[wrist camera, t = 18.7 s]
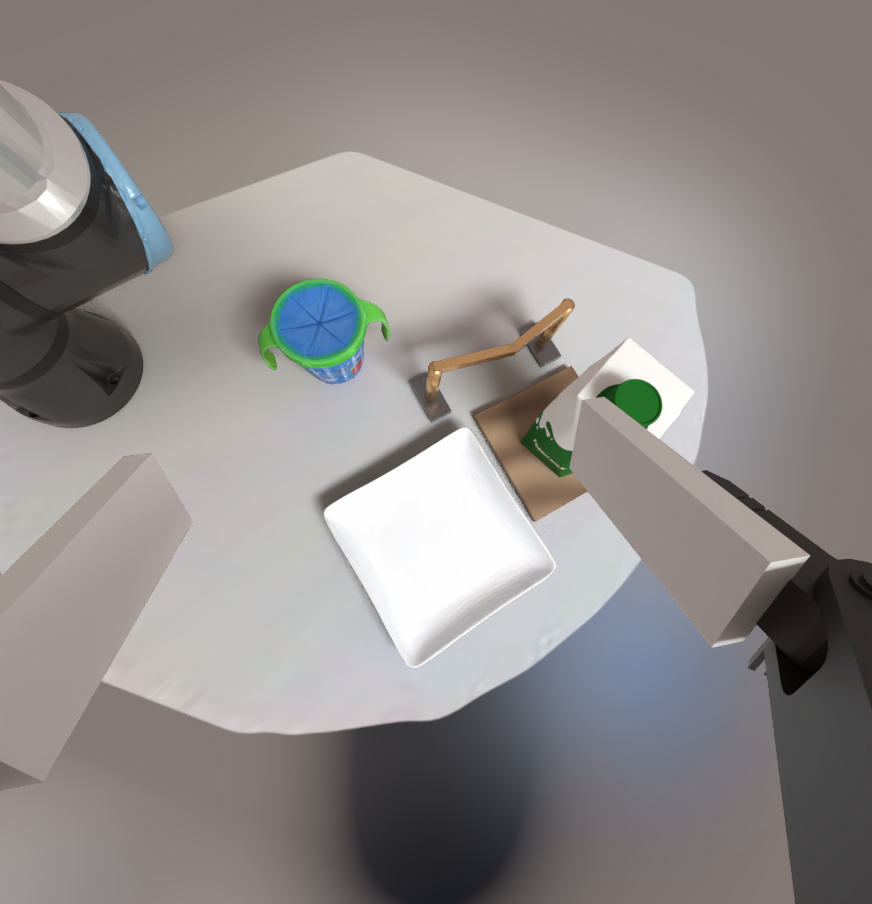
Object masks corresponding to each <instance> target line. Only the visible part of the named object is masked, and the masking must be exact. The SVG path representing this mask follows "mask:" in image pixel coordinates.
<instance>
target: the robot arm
mask: <svg viewBox="0 0 872 904" xmlns="http://www.w3.org/2000/svg"><path fill="white" fill-rule="evenodd" d="M172 253H173V244H172V241H171V239H170V237H169V235H168V233H167V231H166V230H165V228H164V226H163V225H162V223H161V221H160V220H159V218H158V217H157V215H156V214H155V212H154V211H153V209H152V208H151V206H150V205H149V203H148V202H147V201H146V200H145V199H144V197H143V194H142V193H141V192H140V190H139V189H138V187H137V185H136V183H135V182H134V180H133V179H132V177H131V176H130V175H129V173H128V172H127V170H126V169H125V167H124V166H123V164H122V163H121V162H120V160H119V159H118V157H117V156H116V154H115V153H114V152H113V150H112V149H111V148H110V146H109V145H108V143H107V142H106V141H105V139H104V138H103V137H102V135H101V134H100V133H99V131H98V130H97V129H96V127H95V126H94V125H93V124H92V122H91V121H89V120H88V119H87V118H86V117H85V116H84V115H81V114H78V113H71V114H67V113H63V112H61V113H59V114H57V113H56V112H55V111H54V110H53V109H52V108H51V107H49V106H48V105H47V104H46V103H45V102H43V101H42V100H41V99H39V98H38V97H36V96H34V95H33V94H31V93H29V92H27V91H26V90H24V89H22V88H20V87H17V86H15V85H12V84H10V83H8V82H5V81H1V80H0V400H1V401H3V402H4V403H6V404H7V405H9V406H10V407H12V408H13V409H15V410H16V411H17V412H19V413H20V414H22V415H24V416H26V417H28V418H30V419H33V420H35V421H38V422H42V423H45V424H49V425H52V426H56V427H62V428H79V427H85V426H89V425H93V424H96V423H99V422H101V421H103V420H105V419H107V418H109V417H111V416H112V415H114V414H115V413H117V412H118V411H119V410H120V409H122V408H123V407H124V406H125V405H126V404H127V403H128V401H129V400H130V399H131V398H132V396H133V395H134V393H135V392H136V390H137V388H138V386H139V383H140V380H141V377H142V371H143V360H142V355H141V351H140V349H139V347H138V345H137V343H136V341H135V340H134V339H133V338H132V336H131V335H130V334H129V333H127V332H126V331H125V330H123V329H122V328H120V327H119V326H117V325H116V324H115V323H113V322H112V321H110V320H108V319H106V318H104V317H102V316H100V315H97V314H94V313H90V312H86V311H81V310H79V309H76V307H78V306H80V305H82V304H84V303H86V302H88V301H90V300H91V299H93V298H95V297H97V296H99V295H101V294H103V293H105V292H107V291H109V290H111V289H113V288H115V287H117V286H119V285H121V284H123V283H125V282H127V281H129V280H131V279H133V278H135V277H137V276H139V275H141V274H143V273H144V274H147V273H150V272H151V271H152V270H153V268H154V267H155V266H157V265H159V264H160V263H162V262H164V261H165V260H167V259H168V258H170V256H171V255H172ZM570 469H571V471H572V472H573V473H574V475H575V476H576V477H577V478H578V480H579V481H580V482H581V483H582V485H583V486H584V487H585V488H586V490H587V491H588V492H589V493H590V495H591V496H592V497H593V498H594V500H595V501H596V502H597V504H598V505H599V506H600V507H601V509H602V510H603V511H604V512H605V514H606V515H607V516H608V517H609V519H610V520H611V521H612V522H613V524H614V525H615V526H616V527H617V529H618V530H619V531H620V533H621V534H622V535H623V536H624V538H625V539H626V540H627V541H628V543H629V544H630V545H631V546H632V548H633V549H634V550H635V551H636V553H637V554H638V555H639V556H640V558H641V559H642V560H643V561H644V563H645V564H646V565H647V566H648V568H649V569H650V570H651V572H652V573H653V574H654V575H655V576H656V578H657V579H658V580H659V582H660V583H661V584H662V585H663V587H664V588H665V589H666V590H667V592H668V593H669V594H670V595H671V597H672V598H673V599H674V601H675V602H676V603H677V604H678V606H679V607H680V608H681V609H682V611H683V612H684V613H685V614H686V616H687V617H688V618H689V619H690V621H691V622H692V623H693V625H694V626H695V627H696V628H697V630H698V631H699V632H700V633H701V634H702V636H703V637H704V638H705V640H706V641H707V642H708V643H709V645H710V646H711V647H716V646H721V645H726V644H731V643H736V642H741V641H744V640H745V639H746V638H747V636H748V635H749V634H750V633H751V631H752V630H753V629H754V627H755V626H756V625H758V626H759V627H760V628H761V629H762V630H763V631H764V632H765V633H766V635H767V636H768V639H767V640H766V641H765V642H764V643H763V644H762V646H761V647H760V648H759V649H758V650H757V652H756V653H755V654H754V655H753V656H752V658H751V659H750V661H749V666H748V668H749V669H751V670H754V671H755V669H756V668H757V667H758V666H759V665H760V664H761V663H762V662H763V661H764V659H765V664H766V671H765V672H764V675H766V676H767V680H768V688H769V696H770V704H771V712H772V720H773V728H774V736H775V744H776V752H777V760H778V768H779V776H780V784H781V792H782V801H783V809H784V817H785V825H786V833H787V840H788V849H789V857H790V865H791V872H792V880H793V888H794V897H795V904H872V564H871V563H869V562H864V561H858V560H853V559H842V560H837V559H835V558H834V557H832V556H831V555H829V554H828V553H826V552H825V551H824V550H823V549H821V548H820V547H819V546H817V545H816V544H814V543H813V542H811V541H810V540H809V539H808V538H806V537H805V536H804V535H802V534H801V533H799V532H798V531H797V530H795V529H794V528H793V527H791V526H790V525H789V524H787V523H786V522H784V521H783V520H782V519H780V518H779V517H778V516H776V515H775V514H774V513H772V512H771V511H770V510H765V507H764V506H763V505H761V504H760V503H759V502H757V501H756V500H755V499H753V498H749V495H748V494H746V493H745V492H744V491H742V490H741V489H740V488H738V487H737V486H736V485H734V484H733V483H732V482H730V481H728V480H726V479H724V478H722V477H720V476H717V475H715V474H713V473H711V472H709V471H707V470H705V471H700V470H699V469H697V468H696V467H695V466H693V465H692V464H691V463H690V462H688V461H687V460H686V459H684V458H683V457H682V456H680V455H679V454H678V453H677V452H675V451H674V450H673V449H671V448H670V447H669V446H667V445H666V444H665V443H664V442H662V441H661V440H660V439H658V438H657V437H656V436H654V435H653V434H652V433H651V432H649V431H648V430H647V429H645V428H644V427H643V426H641V425H640V424H639V423H638V422H636V421H635V420H634V419H632V418H631V417H630V416H629V415H627V414H626V413H625V412H623V411H622V410H621V409H619V408H618V407H617V406H616V405H614V404H613V403H612V402H610V401H609V400H608V399H606V398H605V397H600V398H592V399H584V400H582V403H581V409H580V414H579V419H578V425H577V430H576V435H575V441H574V446H573V452H572V457H571V462H570ZM192 523H193V521H192V519H191V517H190V516H189V514H188V512H187V511H186V509H185V507H184V506H183V504H182V502H181V501H180V499H179V497H178V496H177V494H176V492H175V491H174V489H173V487H172V486H171V484H170V482H169V481H168V479H167V477H166V475H165V474H164V472H163V470H162V469H161V467H160V465H159V464H158V462H157V460H156V459H155V457H154V455H153V454H152V453H147V454H139V455H131V456H124V457H123V458H122V459H120V460H119V461H118V462H117V463H116V464H115V465H114V466H113V467H112V468H111V469H110V470H109V471H108V472H107V473H106V474H105V475H104V476H103V477H102V478H101V479H100V480H99V481H98V482H97V483H96V484H95V485H94V486H93V487H92V488H91V489H90V490H89V491H88V492H87V493H86V494H85V495H84V496H83V497H82V498H81V499H80V500H79V501H78V502H77V503H75V504H74V505H73V506H72V507H71V508H70V509H69V510H68V511H67V512H66V513H65V514H64V515H63V516H62V517H61V518H60V519H59V520H58V521H57V522H56V523H55V524H54V525H53V526H52V527H51V528H50V529H49V530H48V531H47V532H46V533H45V534H44V535H43V536H42V537H41V538H40V539H39V540H38V541H37V542H36V543H35V544H34V545H33V546H31V547H30V548H29V549H28V550H27V551H26V552H25V553H24V554H23V555H22V556H21V557H20V558H19V559H18V560H17V561H16V562H15V563H14V564H13V565H12V566H11V567H10V568H9V569H8V570H7V571H6V572H5V573H4V574H3V575H2V576H1V577H0V790H5V789H10V788H15V787H20V786H25V785H30V784H35V783H40V782H43V781H44V779H45V778H46V776H47V774H48V772H49V770H50V769H51V767H52V765H53V764H54V762H55V760H56V758H57V757H58V755H59V753H60V752H61V750H62V748H63V746H64V744H65V743H66V741H67V739H68V738H69V736H70V734H71V732H72V731H73V729H74V727H75V726H76V724H77V722H78V720H79V718H80V717H81V715H82V713H83V712H84V710H85V708H86V706H87V705H88V703H89V701H90V699H91V698H92V696H93V694H94V693H95V691H96V689H97V687H98V686H99V684H100V682H101V680H102V679H103V677H104V675H105V674H106V672H107V670H108V668H109V667H110V665H111V663H112V661H113V660H114V658H115V656H116V654H117V653H118V651H119V649H120V648H121V646H122V644H123V642H124V641H125V639H126V637H127V635H128V634H129V632H130V630H131V629H132V627H133V625H134V623H135V622H136V620H137V618H138V616H139V615H140V613H141V611H142V609H143V608H144V606H145V604H146V603H147V601H148V599H149V597H150V596H151V594H152V592H153V590H154V589H155V587H156V585H157V583H158V582H159V580H160V578H161V577H162V575H163V573H164V571H165V570H166V568H167V566H168V564H169V563H170V561H171V559H172V557H173V556H174V554H175V552H176V551H177V549H178V547H179V545H180V544H181V542H182V540H183V538H184V537H185V535H186V533H187V531H188V530H189V528H190V526H191V525H192Z"/></svg>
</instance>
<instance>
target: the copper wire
mask: <svg viewBox="0 0 872 904" xmlns="http://www.w3.org/2000/svg"><path fill="white" fill-rule="evenodd" d="M574 307H575V303H574V302H573V300H571V299H569V298H568V299H564V300H563V301H562V303H561V304H560V305H559V306H558V307H557V308H556V309H554V310H553V311H552V312H551V313H549V314H548V315H547V316H546V317H544V318H543V319H542V320H541V321H539V322H537V323H535V324H533V325H531V326H529V327H527V328H525V329H523V330H522V331H521V333H520V334H521V337H520V338H518V339H517V340H516V341H515V342H513V343H512V344H508V345H504V346H500V347H496V348H491V349H487V350H483V351H479V352H474V353H470V354H466V355H462V356H457V357H453V358H449V359H445V360H440V361H433V362H431V363H430V364H429V366H428V374H427V375H426V376H424V377H422V378H420V379H418V380H416V381H414V382H412V383H411V387H412V389H413V390H414V392H415V394H416V396H417V398H418V399H419V401H420V403H421V405H422V407H423V408H424V410H425V412H426V414H427V416H428V417H429V419H430V421H431V423H432V422H434V421H436V420H438V419H440V418H442V417H444V416H446V415H448V414H450V413H451V409H450V407H449V406H448V404H447V402H446V400H445V399H444V397H443V395H442V393H441V392H440V390H439V385H440V379H441V374H442V372H446V371H451V370H455V369H459V368H463V367H467V366H471V365H476V364H480V363H484V362H488V361H492V360H497V359H501V358H505V357H509V356H514V355H515V354H516V353H517V352H519V351H520V350H521V349H522V348H524V347H525V346H526V345H528V347H529V349H530V350H531V352H532V353H533V355H534V357H535V358H536V360H537V361H538V363H539V365H540V366H541V367H543V366H545V365H547V364H549V363H551V362H553V361H555V360H557V359H559V358H560V356H561V355H560V353H559V351H558V350H557V348H556V347H555V345H554V344H553V342H552V340H551V339H552V337H553V336H554V335H555V333H556V332H557V331H558V329H559V328H560V327H561V325H562V324H563V323H564V321H565V320H566V318H567V317H568V316H569V314H570V313H571V312H572V310H573V309H574Z"/></svg>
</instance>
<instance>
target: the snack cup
mask: <svg viewBox="0 0 872 904" xmlns="http://www.w3.org/2000/svg"><path fill="white" fill-rule="evenodd" d="M373 321H381V322H382V328H381V329H382V333H383V336H384V338H385V340H386V341H388V340H389V337H390V330H389V326H388V323H387V320H386V316H385V314H384V312H383V311H382V310H381V309H380V308H379V307H378V306H376V305H374V304H372V303H370V302H366V301H362V300H360V299H358V298H357V296H356V295H355V294H354V293H353V292H352V291H351V290H350V289H349V288H347V287H346V286H344V285H342V284H340V283H338V282H335V281H332V280H326V279H310V280H306V281H302V282H299V283H297V284H295V285H293V286H291V287H290V288H288V289H287V290H286V291H285V292H283V293H282V295H281V296H280V297H279V298H278V299H277V301H276V303H275V304H274V306H273V309H272V312H271V316H270V322H269V323H268V325H266V326H265V327H264V329H263V330H261V333H260V335H259V339H258V344H259V348H260V352H261V355H262V358H263V360H264V361H265V363H266V364H267V365H268V366H269V368H271V369H273V370H276V369H277V364H276V360H275V357H274V355H273V353H272V352H270V351H269V350H268V348H270V347H277V348H279V349H280V350H281V351H282V352H283V353H284V354H285V355H286V356H287V357H288V358H290V359H291V360H293V361H294V362H296V363H298V364H300V365H301V366H303V367H304V368H305V369H306V370H308V371H309V372H310V373H311V374H312V375H314V376H315V377H317V378H318V379H320V380H322V381H324V382H326V383H329V384H335V383H342V382H346V381H348V380H350V379H351V378H354V377H355V376H356V375H357V374H358V372H359V370H360V368H361V366H362V363H363V357H364V352H363V351H364V336H365V332H366V326H367V325H368V324H369V323H370V322H373Z"/></svg>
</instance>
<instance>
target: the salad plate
mask: <svg viewBox="0 0 872 904" xmlns="http://www.w3.org/2000/svg"><path fill="white" fill-rule="evenodd" d="M323 514H324V518H325V521H326V523H327V525H328V527H329V529H330V531H331V533H332V535H333V536H334V538H335V540H336V541H337V543H338V545H339V546H340V548H341V550H342V551H343V553H344V555H345V556H346V558H347V560H348V561H349V563H350V565H351V566H352V568H353V570H354V571H355V573H356V575H357V577H358V578H359V580H360V581H361V583H362V585H363V587H364V588H365V590H366V592H367V594H368V596H369V597H370V599H371V601H372V603H373V605H374V607H375V609H376V610H377V612H378V614H379V616H380V618H381V620H382V622H383V624H384V625H385V627H386V629H387V631H388V633H389V635H390V637H391V639H392V641H393V643H394V645H395V647H396V648H397V650H398V652H399V654H400V655H401V657H402V659H403V661H404V662H405V663H406V664H407V665H408V666H409V667H411V668H417V667H419V666H421V665H423V664H424V663H426V662H427V661H429V660H430V659H432V658H433V657H435V656H436V655H437V654H439V653H440V652H441V651H443V650H444V649H446V648H447V647H448V646H450V645H451V644H452V643H454V642H455V641H456V640H458V639H459V638H460V637H462V636H463V635H465V634H466V633H467V632H469V631H470V630H471V629H473V628H474V627H476V626H477V625H478V624H480V623H481V622H483V621H484V620H485V619H487V618H488V617H490V616H491V615H492V614H494V613H495V612H497V611H498V610H500V609H501V608H503V607H504V606H506V605H507V604H509V603H510V602H512V601H513V600H515V599H516V598H518V597H519V596H521V595H522V594H524V593H525V592H527V591H528V590H530V589H531V588H533V587H534V586H536V585H538V584H539V583H541V582H542V581H543V580H545V579H546V578H547V577H548V576H550V575H551V574H552V573H553V571H554V570H555V568H556V564H555V561H554V559H553V557H552V555H551V553H550V552H549V550H548V549H547V547H546V546H545V544H544V543H543V541H542V540H541V538H540V537H539V535H538V534H537V532H536V531H535V529H534V528H533V527H532V525H531V524H530V522H529V521H528V519H527V518H526V516H525V515H524V513H523V512H522V510H521V509H520V507H519V506H518V504H517V503H516V501H515V500H514V498H513V497H512V495H511V494H510V492H509V491H508V489H507V487H506V486H505V484H504V483H503V481H502V479H501V478H500V476H499V475H498V473H497V471H496V470H495V468H494V466H493V465H492V463H491V461H490V460H489V458H488V456H487V455H486V453H485V451H484V450H483V448H482V447H481V445H480V443H479V442H478V440H477V439H476V437H475V436H474V434H473V433H472V431H471V430H470V429H469V428H467V427H462V428H459V429H457V430H456V431H454V432H452V433H451V434H449V435H447V436H446V437H444V438H443V439H441V440H439V441H438V442H436V443H435V444H433V445H431V446H430V447H428V448H427V449H425V450H424V451H422V452H420V453H419V454H417V455H416V456H414V457H412V458H411V459H409V460H407V461H406V462H404V463H402V464H401V465H399V466H397V467H396V468H394V469H392V470H391V471H389V472H387V473H386V474H384V475H382V476H380V477H379V478H377V479H375V480H373V481H371V482H369V483H367V484H366V485H364V486H362V487H360V488H358V489H356V490H354V491H352V492H350V493H348V494H347V495H345V496H343V497H342V498H340V499H338V500H337V501H335V502H333V503H332V504H330V505H329V506H328V507H327V508H326V509H325V510H324V512H323Z"/></svg>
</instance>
